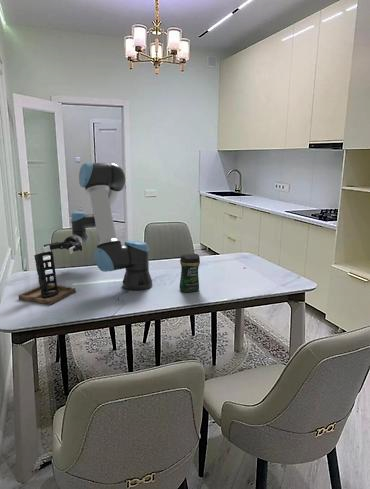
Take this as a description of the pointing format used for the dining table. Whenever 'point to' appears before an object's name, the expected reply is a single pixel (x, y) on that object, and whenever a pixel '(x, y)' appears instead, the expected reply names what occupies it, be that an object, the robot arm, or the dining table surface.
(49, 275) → the holder
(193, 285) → the coffee jar
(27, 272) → the dining table surface
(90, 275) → the dining table surface
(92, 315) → the dining table surface
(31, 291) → the tray
